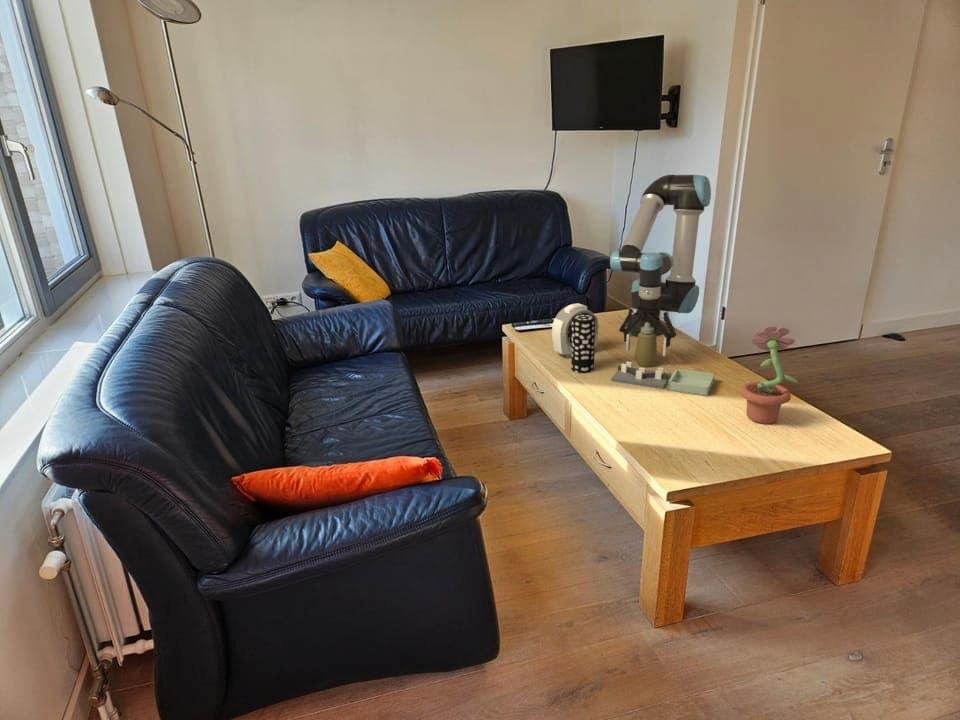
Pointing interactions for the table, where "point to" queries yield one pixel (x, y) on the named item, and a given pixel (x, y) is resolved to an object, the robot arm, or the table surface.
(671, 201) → the robot arm
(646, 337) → the squeeze bottle
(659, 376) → the grey peg board
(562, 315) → the alarm clock
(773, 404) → the decorative flower
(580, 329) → the white-spotted black cylinder
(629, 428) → the table surface
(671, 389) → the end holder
